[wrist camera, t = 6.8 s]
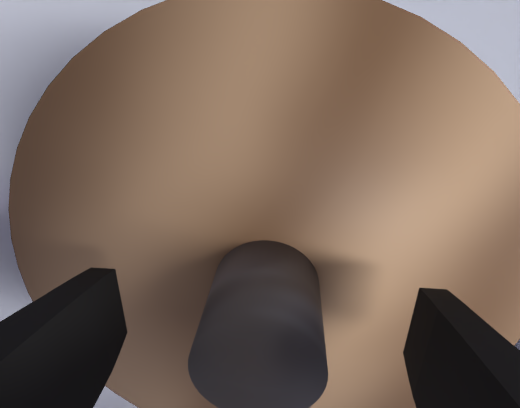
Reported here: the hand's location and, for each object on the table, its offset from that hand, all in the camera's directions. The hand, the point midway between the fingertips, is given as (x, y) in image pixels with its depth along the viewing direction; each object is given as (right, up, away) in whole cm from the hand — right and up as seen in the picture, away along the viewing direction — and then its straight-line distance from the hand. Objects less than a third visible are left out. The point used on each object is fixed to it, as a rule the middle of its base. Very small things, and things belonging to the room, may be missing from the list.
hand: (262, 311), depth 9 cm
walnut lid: (0, +1, +2) cm, 2 cm away
